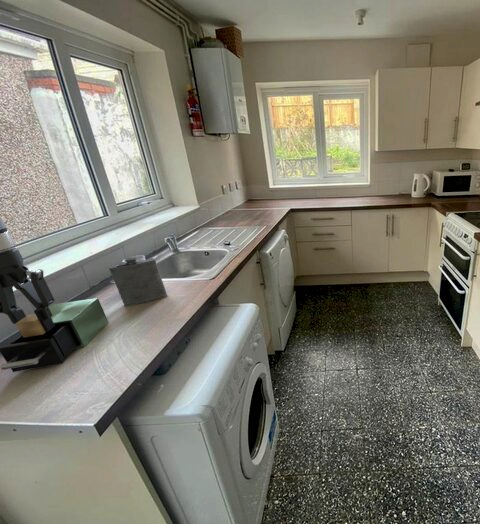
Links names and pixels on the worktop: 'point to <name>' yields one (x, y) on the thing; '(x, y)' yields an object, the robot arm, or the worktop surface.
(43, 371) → the worktop surface
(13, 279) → the robot arm
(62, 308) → the fryer
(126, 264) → the flask
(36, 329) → the block
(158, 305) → the worktop surface
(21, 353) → the fryer drawer
